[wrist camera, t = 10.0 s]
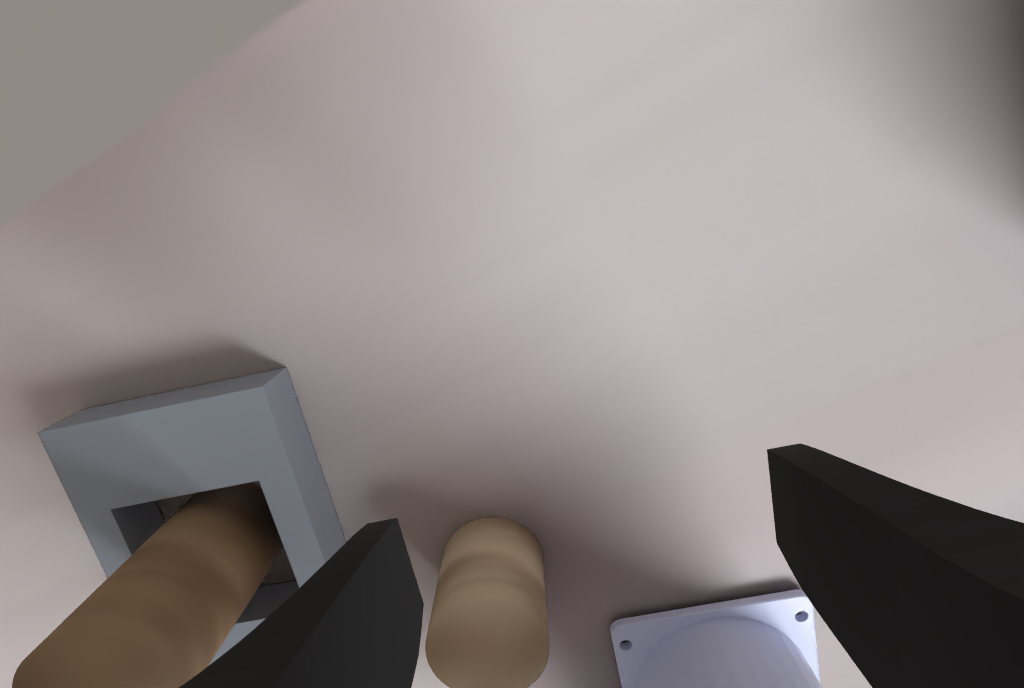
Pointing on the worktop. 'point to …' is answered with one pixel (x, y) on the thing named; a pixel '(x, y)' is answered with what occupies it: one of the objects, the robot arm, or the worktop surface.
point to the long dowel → (165, 600)
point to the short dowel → (489, 608)
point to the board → (198, 471)
